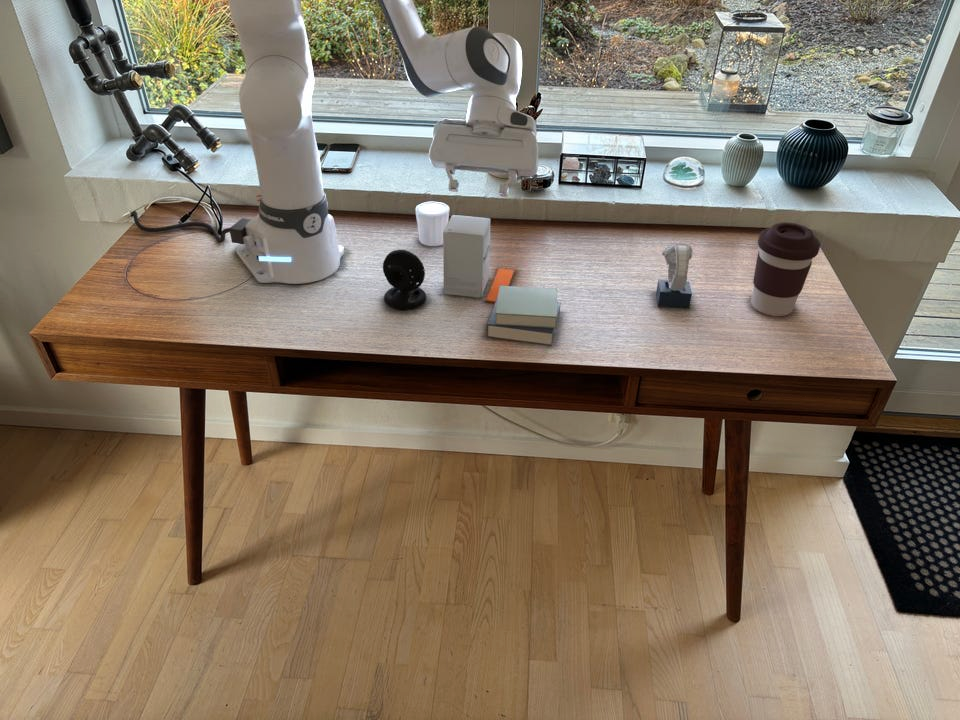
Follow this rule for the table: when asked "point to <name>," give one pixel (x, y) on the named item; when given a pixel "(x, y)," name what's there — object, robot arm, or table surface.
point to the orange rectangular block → (499, 283)
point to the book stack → (525, 315)
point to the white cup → (432, 222)
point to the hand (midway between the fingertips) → (477, 193)
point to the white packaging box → (466, 255)
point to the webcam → (404, 280)
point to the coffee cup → (782, 267)
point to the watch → (675, 278)
